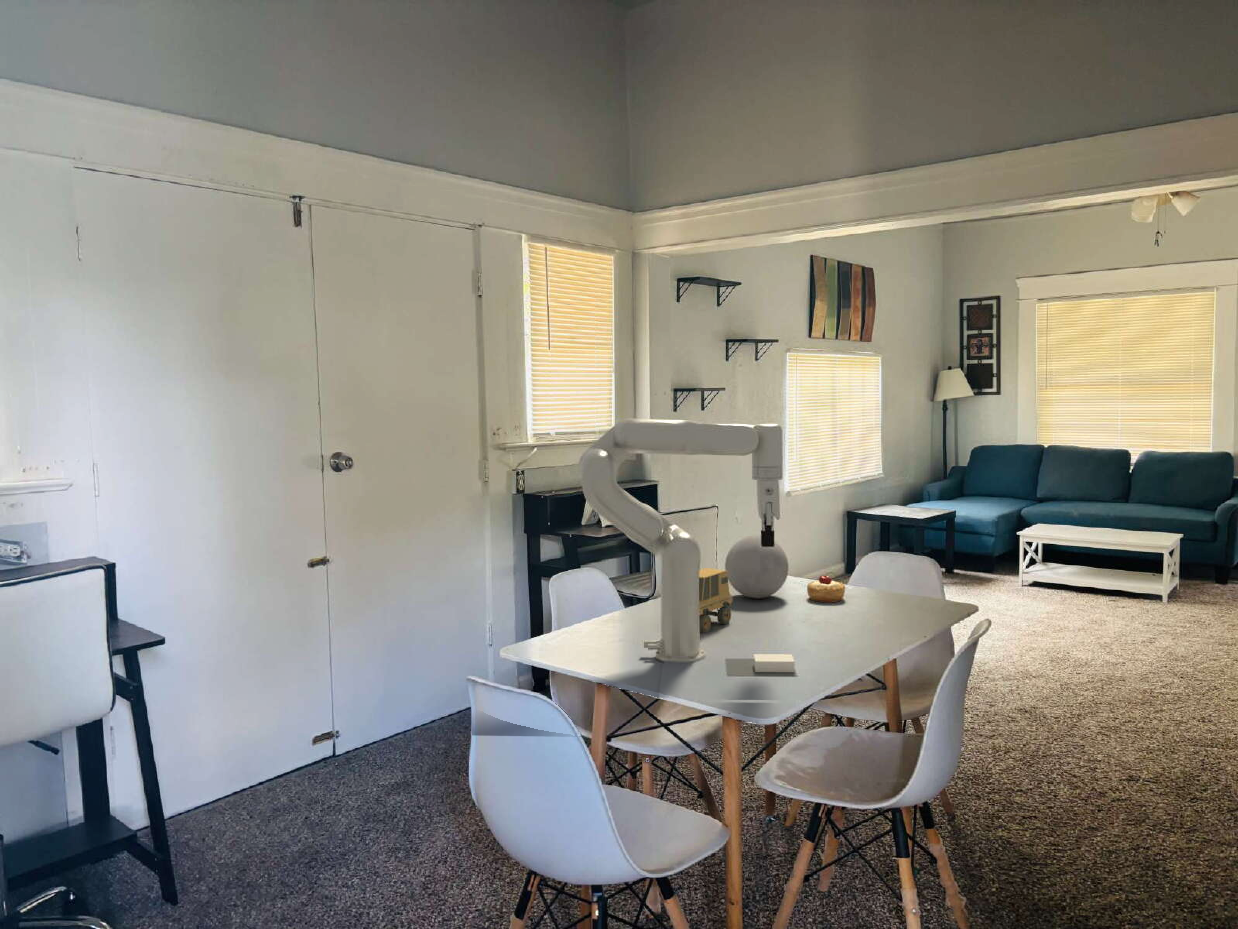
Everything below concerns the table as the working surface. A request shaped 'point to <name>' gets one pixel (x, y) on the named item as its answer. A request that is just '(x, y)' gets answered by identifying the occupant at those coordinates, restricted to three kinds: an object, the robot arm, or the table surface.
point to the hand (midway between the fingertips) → (767, 546)
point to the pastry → (826, 589)
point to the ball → (756, 567)
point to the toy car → (713, 597)
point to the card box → (774, 663)
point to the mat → (751, 669)
